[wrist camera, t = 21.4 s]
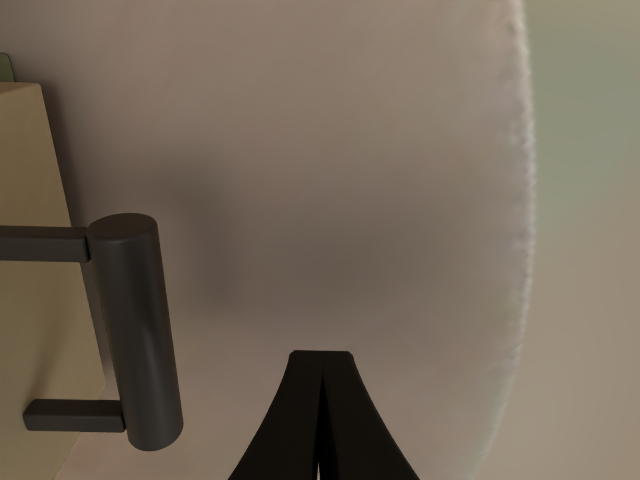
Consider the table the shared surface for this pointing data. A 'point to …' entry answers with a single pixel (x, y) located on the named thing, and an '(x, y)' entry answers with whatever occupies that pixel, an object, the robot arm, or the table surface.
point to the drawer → (73, 310)
